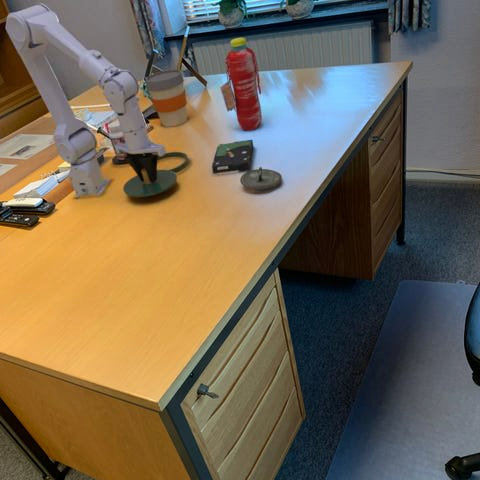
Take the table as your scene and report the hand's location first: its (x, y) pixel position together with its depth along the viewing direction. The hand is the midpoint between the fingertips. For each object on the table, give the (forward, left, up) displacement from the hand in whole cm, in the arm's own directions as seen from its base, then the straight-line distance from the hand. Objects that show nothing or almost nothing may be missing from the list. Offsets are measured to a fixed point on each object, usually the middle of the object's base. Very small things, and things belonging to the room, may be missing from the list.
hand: (149, 180), depth 126 cm
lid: (-1, -29, -4) cm, 29 cm away
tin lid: (0, 0, -1) cm, 1 cm away
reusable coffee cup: (+54, +6, -4) cm, 54 cm away
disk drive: (+15, -20, -4) cm, 25 cm away
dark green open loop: (+16, 0, -4) cm, 16 cm away
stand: (+25, +15, -4) cm, 29 cm away
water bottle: (+39, -21, -4) cm, 44 cm away
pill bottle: (+25, +15, -3) cm, 29 cm away
